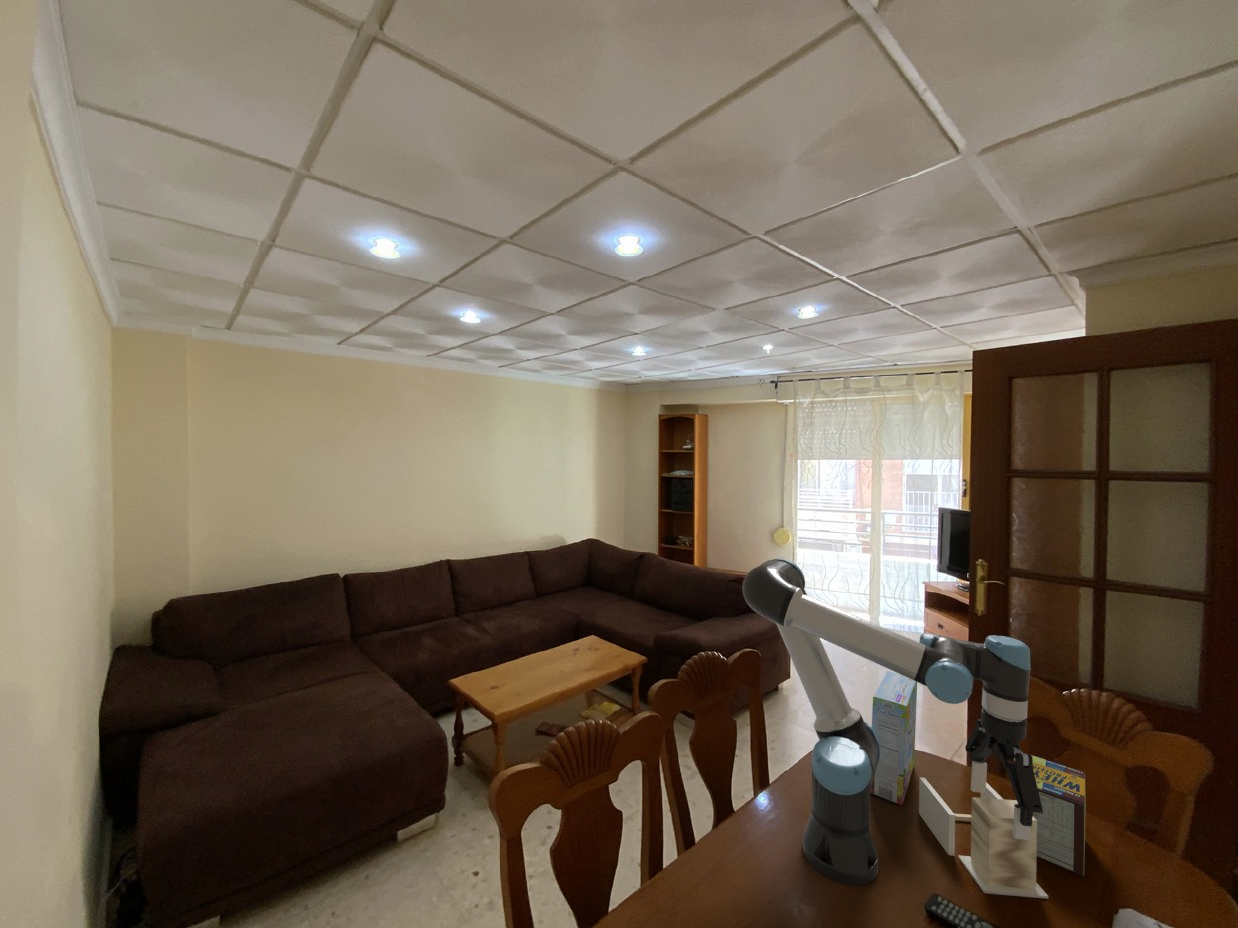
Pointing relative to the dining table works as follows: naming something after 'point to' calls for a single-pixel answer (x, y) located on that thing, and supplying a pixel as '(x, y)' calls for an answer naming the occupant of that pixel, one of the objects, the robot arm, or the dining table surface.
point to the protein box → (1060, 815)
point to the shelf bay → (943, 814)
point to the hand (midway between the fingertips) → (998, 813)
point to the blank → (1001, 845)
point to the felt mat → (1000, 889)
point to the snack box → (894, 735)
